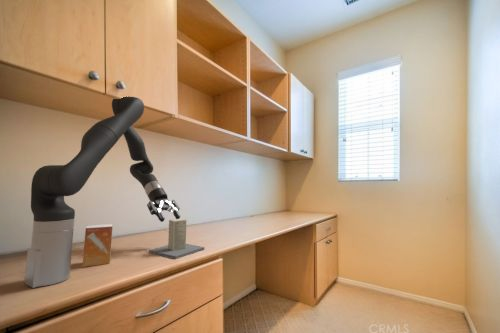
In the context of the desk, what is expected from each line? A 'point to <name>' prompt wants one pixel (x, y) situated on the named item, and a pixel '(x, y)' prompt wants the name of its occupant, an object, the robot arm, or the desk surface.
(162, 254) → the rubber mat
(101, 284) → the desk surface
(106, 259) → the small box
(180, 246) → the skincare box
